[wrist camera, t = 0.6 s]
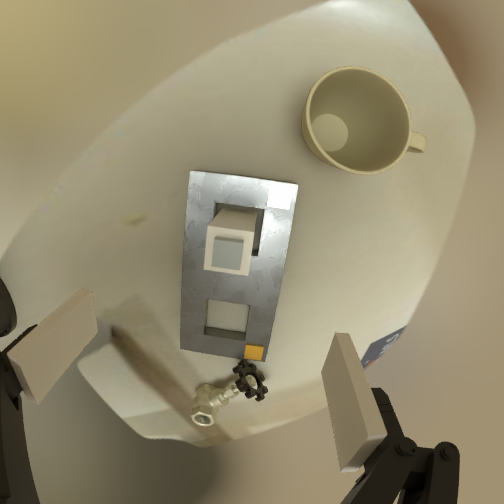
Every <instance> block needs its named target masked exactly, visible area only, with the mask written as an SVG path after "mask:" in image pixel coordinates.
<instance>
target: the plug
mask: <svg viewBox="0 0 504 504" xmlns="http://www.w3.org/2000/svg"><path fill="white" fill-rule="evenodd" d="M256 218H257V212H254V211H247V210H240V209H232V208H225V207H224V208H223V209H222V210H221V211H220V212H219V213H218V214H217V216H216V217H215V218H214V219H213V220H212V221H211V222H210V224H209V225H208V227H207V237H206V248H205V260H204V270H211V271H217V272H224V273H231V274H238V275H245V276H248V274H249V267H250V260H251V253H252V246H253V239H254V232H255V225H256Z"/></svg>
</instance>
